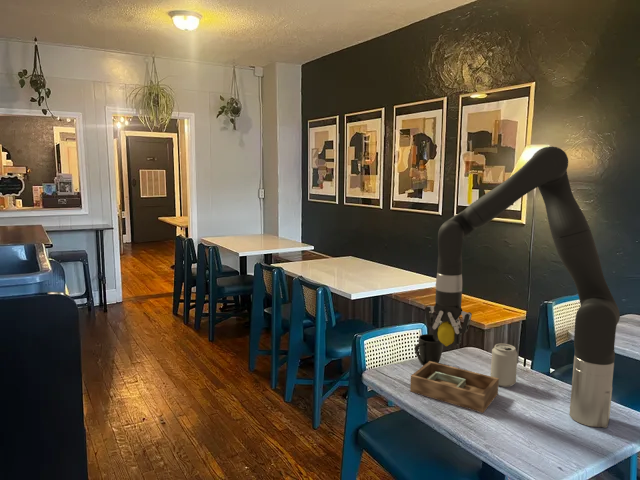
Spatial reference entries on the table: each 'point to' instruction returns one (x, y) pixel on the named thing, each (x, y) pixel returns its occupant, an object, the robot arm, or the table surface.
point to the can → (504, 364)
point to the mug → (428, 349)
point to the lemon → (446, 333)
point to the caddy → (455, 386)
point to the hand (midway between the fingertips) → (446, 342)
